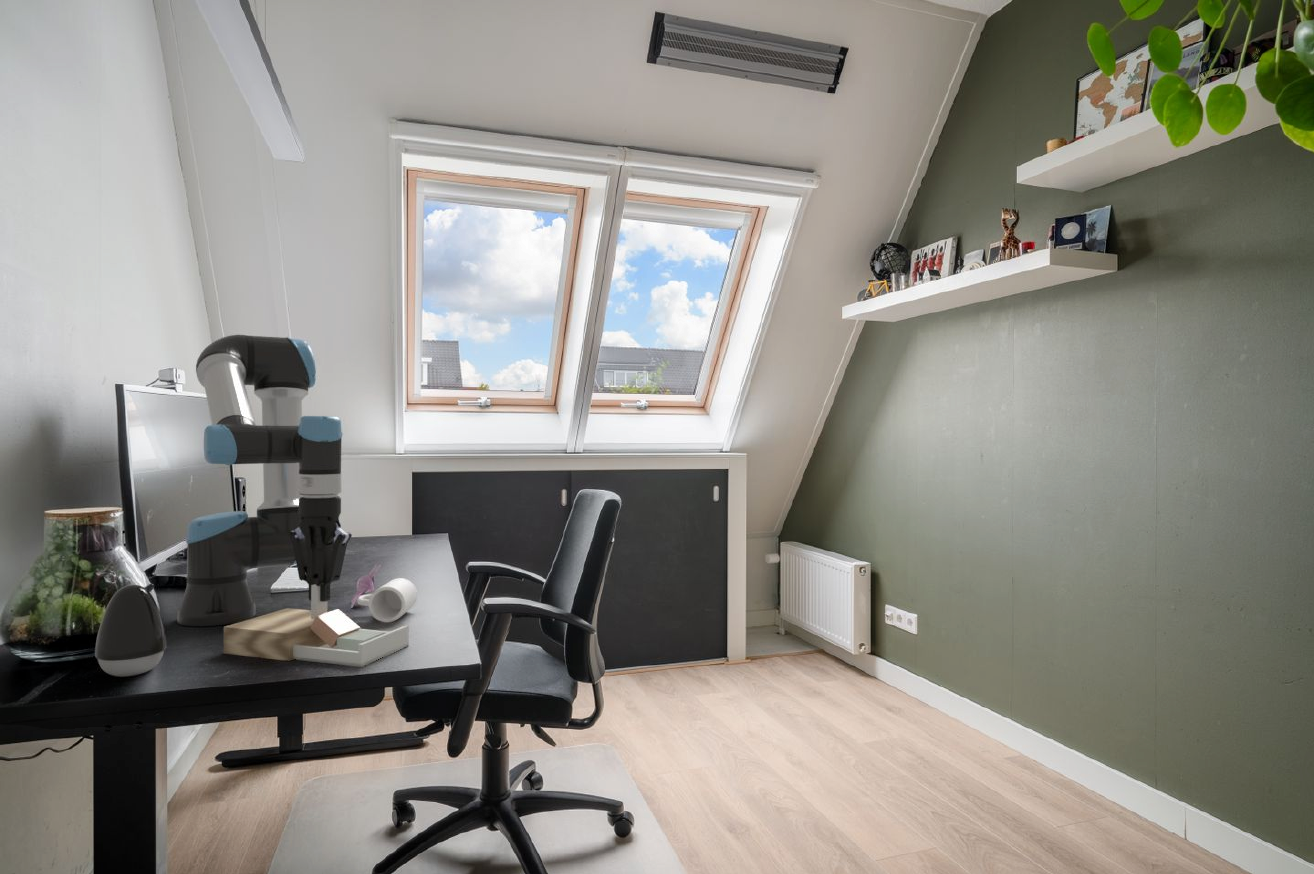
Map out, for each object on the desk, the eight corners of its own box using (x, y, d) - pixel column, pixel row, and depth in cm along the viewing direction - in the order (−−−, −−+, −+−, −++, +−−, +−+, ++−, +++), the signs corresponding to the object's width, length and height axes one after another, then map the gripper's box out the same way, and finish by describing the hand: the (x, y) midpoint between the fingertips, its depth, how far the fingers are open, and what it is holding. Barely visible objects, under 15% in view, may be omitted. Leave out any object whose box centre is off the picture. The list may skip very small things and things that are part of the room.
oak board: (223, 653, 144) (223, 626, 144) (286, 632, 160) (287, 608, 160) (288, 660, 140) (288, 633, 140) (347, 638, 155) (347, 613, 155)
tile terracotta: (309, 628, 145) (316, 615, 145) (331, 621, 151) (338, 608, 150) (331, 647, 144) (338, 634, 143) (352, 639, 149) (359, 627, 149)
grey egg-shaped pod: (180, 663, 138) (180, 579, 138) (139, 682, 128) (140, 591, 128) (124, 662, 138) (124, 578, 138) (79, 681, 128) (80, 590, 128)
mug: (417, 612, 178) (417, 577, 178) (404, 622, 169) (404, 586, 168) (365, 611, 178) (365, 577, 178) (349, 622, 168) (349, 586, 168)
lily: (362, 601, 194) (343, 570, 190) (405, 583, 193) (387, 552, 190) (350, 627, 182) (329, 595, 179) (395, 608, 182) (375, 576, 179)
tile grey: (364, 640, 141) (364, 656, 141) (384, 632, 147) (384, 647, 147) (336, 637, 143) (336, 653, 143) (358, 629, 149) (358, 645, 149)
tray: (292, 659, 141) (293, 637, 141) (344, 639, 154) (344, 619, 154) (361, 667, 137) (362, 644, 137) (408, 646, 150) (408, 625, 150)
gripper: (277, 496, 146) (276, 619, 146) (335, 498, 142) (334, 625, 142) (306, 493, 153) (305, 610, 153) (361, 495, 149) (360, 615, 149)
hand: (319, 617), depth 148 cm, fingers closed
